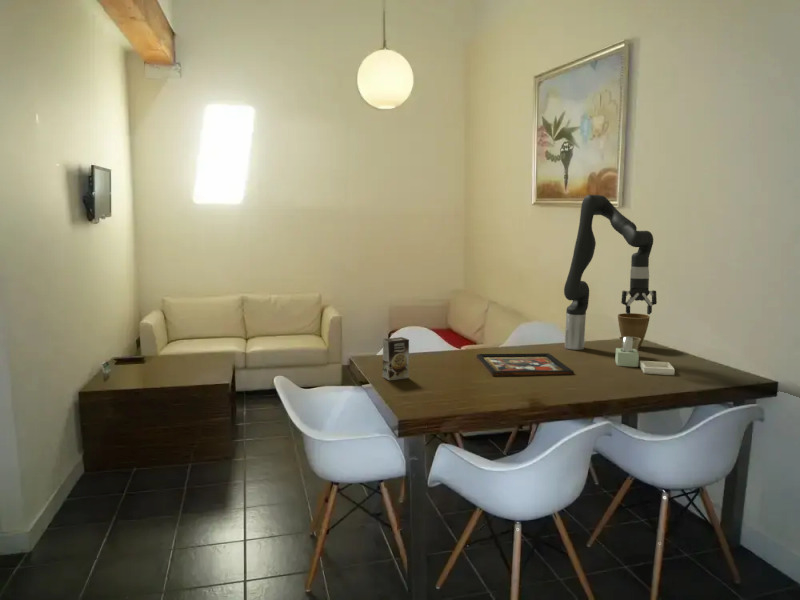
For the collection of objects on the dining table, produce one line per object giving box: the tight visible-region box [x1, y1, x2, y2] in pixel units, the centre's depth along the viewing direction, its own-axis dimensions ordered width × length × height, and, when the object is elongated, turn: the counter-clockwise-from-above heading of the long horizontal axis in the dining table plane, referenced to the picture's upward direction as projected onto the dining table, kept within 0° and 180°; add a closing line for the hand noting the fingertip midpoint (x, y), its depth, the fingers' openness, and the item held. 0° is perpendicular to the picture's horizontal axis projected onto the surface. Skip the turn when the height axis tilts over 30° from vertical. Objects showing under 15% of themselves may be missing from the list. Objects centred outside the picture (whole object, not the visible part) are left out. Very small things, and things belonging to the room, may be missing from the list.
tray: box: [638, 360, 676, 376], centre depth 266 cm, size 12×12×2 cm
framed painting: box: [476, 352, 575, 377], centre depth 273 cm, size 38×35×3 cm
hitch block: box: [614, 347, 640, 368], centre depth 276 cm, size 9×9×6 cm
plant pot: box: [617, 312, 651, 349], centre depth 309 cm, size 15×15×16 cm
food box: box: [382, 336, 410, 381], centre depth 253 cm, size 9×6×16 cm
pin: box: [622, 337, 633, 352], centre depth 276 cm, size 4×4×12 cm
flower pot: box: [619, 336, 641, 351], centre depth 290 cm, size 9×9×9 cm
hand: (638, 314), depth 270 cm, fingers open, 8 cm apart
